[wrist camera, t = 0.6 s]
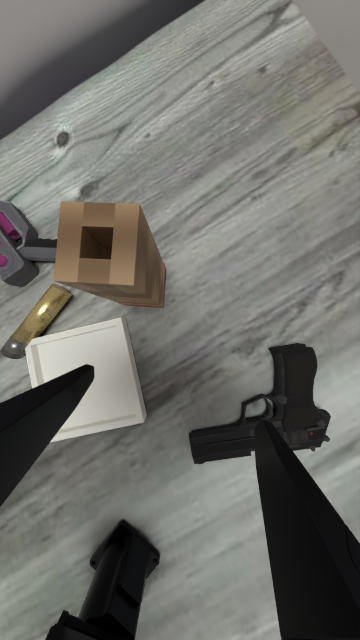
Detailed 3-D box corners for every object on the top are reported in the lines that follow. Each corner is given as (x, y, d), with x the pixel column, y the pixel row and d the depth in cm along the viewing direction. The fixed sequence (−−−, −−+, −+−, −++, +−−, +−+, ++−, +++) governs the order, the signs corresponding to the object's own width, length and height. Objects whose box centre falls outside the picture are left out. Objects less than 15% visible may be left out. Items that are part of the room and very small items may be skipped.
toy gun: (33, 189, 25) (-26, 228, 24) (11, 166, 22) (-58, 210, 21) (88, 257, 24) (29, 300, 23) (74, 244, 21) (5, 294, 20)
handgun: (173, 368, 20) (194, 473, 19) (317, 341, 19) (349, 452, 18) (176, 364, 23) (194, 455, 22) (302, 340, 22) (329, 436, 20)
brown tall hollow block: (164, 307, 22) (134, 286, 10) (126, 305, 22) (52, 281, 10) (166, 269, 22) (140, 202, 10) (129, 267, 22) (60, 201, 10)
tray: (147, 415, 21) (143, 422, 20) (52, 435, 22) (42, 443, 21) (125, 318, 22) (121, 317, 21) (34, 340, 23) (23, 341, 21)
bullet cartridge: (28, 356, 23) (9, 360, 20) (15, 345, 23) (-5, 348, 20) (75, 297, 23) (62, 293, 20) (62, 286, 23) (47, 281, 20)
